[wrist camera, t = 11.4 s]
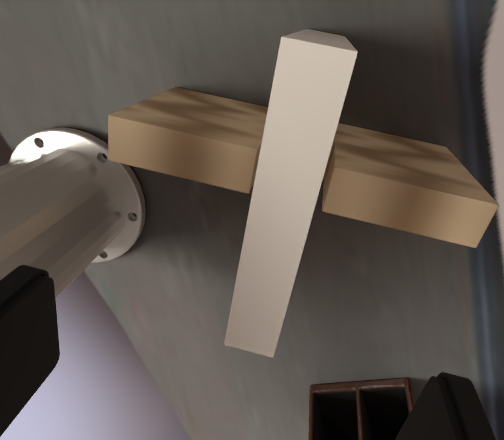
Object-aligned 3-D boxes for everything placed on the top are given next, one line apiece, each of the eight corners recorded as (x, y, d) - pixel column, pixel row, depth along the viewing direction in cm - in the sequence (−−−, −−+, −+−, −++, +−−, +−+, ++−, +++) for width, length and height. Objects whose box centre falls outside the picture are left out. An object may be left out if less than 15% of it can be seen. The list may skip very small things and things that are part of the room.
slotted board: (173, 119, 30) (108, 159, 22) (175, 87, 29) (108, 115, 20) (431, 178, 29) (475, 248, 20) (446, 146, 28) (499, 205, 19)
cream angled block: (307, 28, 26) (281, 36, 13) (344, 36, 26) (357, 51, 12) (267, 213, 32) (224, 344, 19) (297, 220, 32) (273, 357, 19)
